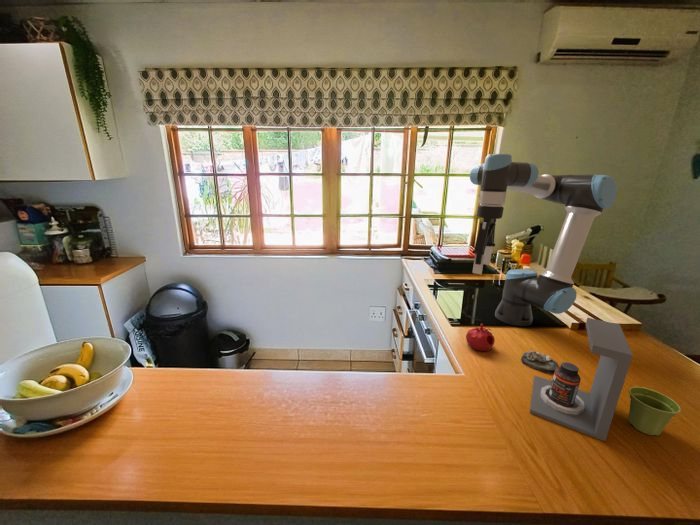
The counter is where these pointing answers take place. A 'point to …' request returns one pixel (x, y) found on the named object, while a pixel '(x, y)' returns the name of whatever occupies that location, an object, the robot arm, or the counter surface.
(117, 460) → the counter surface
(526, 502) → the counter surface
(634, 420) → the plant pot
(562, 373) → the supplement bottle
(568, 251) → the robot arm
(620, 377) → the seat stand
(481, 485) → the counter surface
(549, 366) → the dark grey oval piece
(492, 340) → the pomegranate
